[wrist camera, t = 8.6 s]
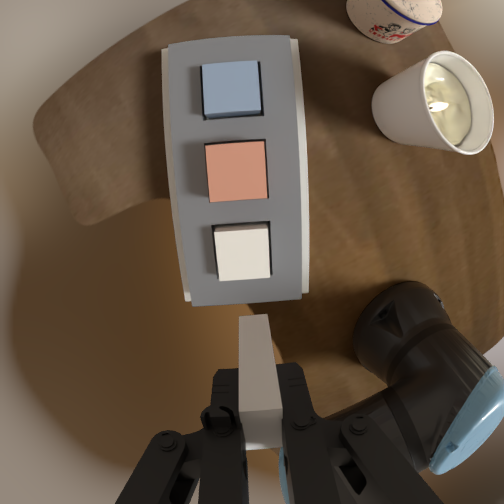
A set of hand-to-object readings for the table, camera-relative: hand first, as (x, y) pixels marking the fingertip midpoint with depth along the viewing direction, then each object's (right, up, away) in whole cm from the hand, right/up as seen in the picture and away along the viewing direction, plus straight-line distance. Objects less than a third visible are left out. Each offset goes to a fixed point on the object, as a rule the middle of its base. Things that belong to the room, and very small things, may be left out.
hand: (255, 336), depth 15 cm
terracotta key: (-2, +12, +12) cm, 17 cm away
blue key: (-2, +20, +10) cm, 23 cm away
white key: (-1, +5, +15) cm, 16 cm away
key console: (-2, +14, +15) cm, 20 cm away
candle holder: (+18, +22, +13) cm, 31 cm away
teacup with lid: (+17, +35, +9) cm, 40 cm away
